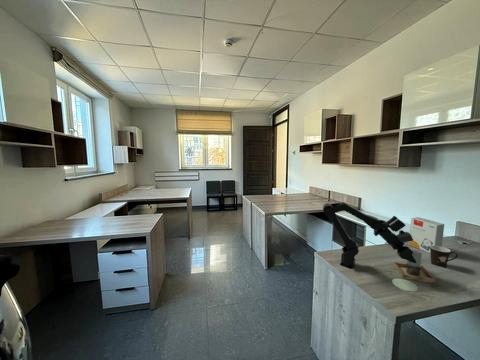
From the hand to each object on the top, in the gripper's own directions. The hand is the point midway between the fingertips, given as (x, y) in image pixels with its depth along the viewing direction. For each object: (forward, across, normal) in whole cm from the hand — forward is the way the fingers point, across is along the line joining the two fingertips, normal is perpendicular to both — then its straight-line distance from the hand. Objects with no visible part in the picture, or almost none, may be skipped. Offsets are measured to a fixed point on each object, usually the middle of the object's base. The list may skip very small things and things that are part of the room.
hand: (411, 258), depth 111 cm
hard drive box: (+22, +39, -9) cm, 45 cm away
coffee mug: (+21, +16, -8) cm, 27 cm away
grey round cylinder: (+7, 0, +5) cm, 8 cm away
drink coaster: (+1, -13, +11) cm, 17 cm away
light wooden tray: (+7, 0, +6) cm, 9 cm away
